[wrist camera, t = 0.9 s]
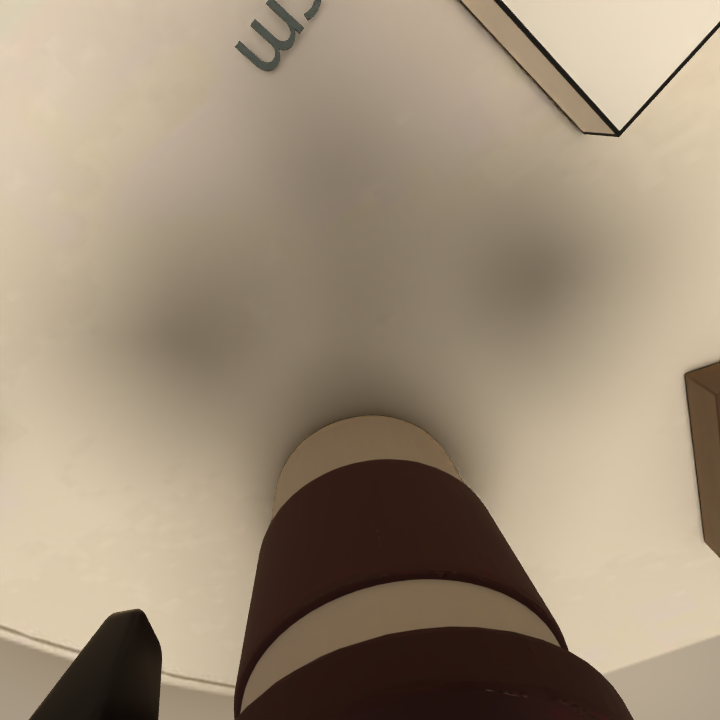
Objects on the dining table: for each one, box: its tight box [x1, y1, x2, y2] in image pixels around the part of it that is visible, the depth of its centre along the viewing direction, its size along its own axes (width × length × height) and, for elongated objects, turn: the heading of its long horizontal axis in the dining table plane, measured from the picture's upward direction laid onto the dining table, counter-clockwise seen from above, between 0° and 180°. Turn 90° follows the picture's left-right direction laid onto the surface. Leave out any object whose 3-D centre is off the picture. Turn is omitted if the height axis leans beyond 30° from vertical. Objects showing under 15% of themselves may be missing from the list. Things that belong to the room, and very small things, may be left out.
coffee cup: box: [234, 415, 634, 720], centre depth 18 cm, size 10×10×15 cm
